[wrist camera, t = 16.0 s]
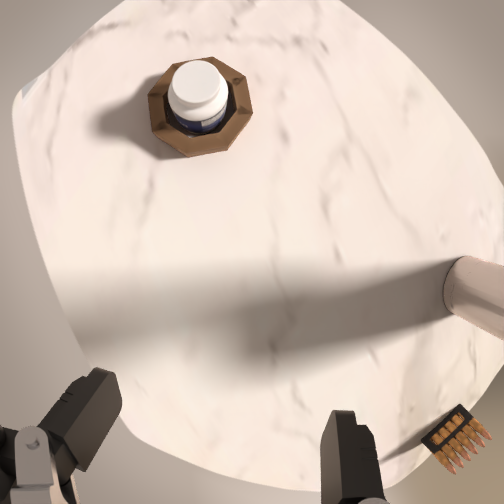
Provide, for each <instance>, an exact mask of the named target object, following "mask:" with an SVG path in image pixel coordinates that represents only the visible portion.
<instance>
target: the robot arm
mask: <svg viewBox="0 0 504 504" xmlns="http://www.w3.org/2000/svg"><path fill="white" fill-rule="evenodd" d="M443 296H444V303H445V306H446V308H447V309H448V310H449V311H450V312H452V313H453V314H455V315H457V316H459V317H461V318H463V319H465V320H466V321H468V322H470V323H472V324H474V325H476V326H477V327H479V328H481V329H483V330H485V331H487V332H488V333H490V334H492V335H494V336H496V337H498V338H499V339H501V340H503V341H504V266H502V265H499V264H495V263H492V262H489V261H485V260H482V259H478V258H475V257H471V256H465V257H462V258H460V259H459V260H457V261H456V262H455V263H454V265H453V266H452V267H451V269H450V271H449V273H448V275H447V278H446V280H445V284H444V291H443ZM121 407H122V397H121V394H120V390H119V386H118V382H117V378H116V375H115V373H113V372H110V371H107V370H104V369H101V368H98V367H96V368H94V369H93V370H92V371H91V372H90V374H89V375H88V376H87V377H84V376H82V377H80V378H79V379H77V380H75V381H74V382H72V383H71V385H70V386H69V387H68V388H67V389H66V391H65V393H63V394H62V396H61V397H60V400H58V401H57V402H56V403H55V404H54V406H53V407H52V408H51V410H50V411H49V412H48V414H47V415H46V416H45V417H44V419H43V420H42V421H41V423H40V424H39V425H38V426H37V427H35V426H28V427H25V428H23V429H21V430H20V431H17V430H12V429H8V428H4V427H2V426H1V425H0V504H80V501H79V497H78V493H77V489H76V485H75V481H74V477H73V474H72V473H73V471H74V470H75V468H77V469H79V470H81V471H83V472H86V470H87V468H88V467H89V465H90V463H91V461H92V460H93V458H94V456H95V454H96V453H97V451H98V449H99V447H100V446H101V444H102V442H103V440H104V439H105V437H106V435H107V434H108V432H109V430H110V428H111V427H112V425H113V423H114V422H115V420H116V418H117V417H118V415H119V413H120V411H121ZM375 449H376V446H375V441H374V436H373V434H372V433H371V431H370V430H369V428H368V427H367V426H366V425H357V423H356V417H355V413H354V411H343V410H333V411H332V412H331V415H330V417H329V420H328V422H327V425H326V427H325V430H324V432H323V435H322V438H321V445H320V457H321V504H390V503H388V502H387V500H386V499H385V496H384V493H383V486H382V480H381V474H380V468H379V462H378V460H377V451H376V450H375Z"/></svg>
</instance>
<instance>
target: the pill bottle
mask: <svg viewBox="0 0 504 504" xmlns="http://www.w3.org/2000/svg"><path fill="white" fill-rule="evenodd" d="M227 98H228V87H227V83H226V81H225V79H224V78H223V76H222V75H221V74H220V73H219V71H218V70H217V68H216V67H215V66H214V65H212V64H211V63H209V62H206V61H201V60H195V61H190V62H187V63H185V64H183V65H182V66H180V67H179V68H178V69H177V70H176V72H175V73H174V75H173V78H172V82H171V84H170V86H169V90H168V100H169V104H170V106H171V108H172V111H173V113H174V115H175V117H176V119H177V121H178V123H179V124H180V125H181V127H182V128H184V129H185V130H186V131H188V132H190V133H194V134H205V133H208V132H211V131H213V130H214V129H216V128H217V127H218V126H219V125H220V124H221V122H222V121H223V118H224V116H225V111H226V105H227Z"/></svg>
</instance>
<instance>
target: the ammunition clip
mask: <svg viewBox="0 0 504 504" xmlns="http://www.w3.org/2000/svg"><path fill="white" fill-rule="evenodd" d="M459 416H460V417H461V418H462V419H463V420H462V419H461V418H460V417H459ZM452 422H453V423H454V424H455V425H454V424H453V423H452ZM470 426H471V427H472V428H473V429H474V430H475V431H477V432H478V433H480V434H481V435H482V436H483V437H485V438H487V439H489V440H492V438H491V436H490V434H489V433H488V432H487V431H486V430H485V429H484V427H483V426H482V425H481V424H480V423H479V422H478V421H477V420H476V419H475V418H474V417H473V416H472V415H471V414H470V413H469V412H468V411H467V410H466V409H465V408H464V407H463V406H462V405H461V404H459V405H458V406H457V407H456V408H455V409H454V410H453V411H452V412H451V413H450V414H449V415H448V416H447V417H446V418H445V419H444V420H443V421H442V422H441V423H439V424H438V425H437V426H436V427H435V428H434V429H433V430H432V431H431V432H430V433H428V434H427V435H426V436H425V437H424V438H423V439H422V440H421V441H422V443H423V444H424V445H425V446H426V447H427V448H428V449H429V450H430V451H431V452H432V454H433V455H434V456H435V457H436V458H437V459H438V460H439V462H440V463H441V464H442V465H444V466H445V467H446V468H447V469H448V470H449V471H450V472H451V473H453V474H456V470H455V468H454V467H453V465H452V464H451V462H450V461H449V459H448V458H447V457H449V458H450V459H451V460H452V461H453V462H454V463H455V464H457V465H458V466H459V467H462V468H463V467H464V466H463V463H462V461H461V460H460V458H459V457H458V456H457V455H456V453H455V451H456V452H458V453H459V454H460V455H461V456H462V457H463V458H464V459H466V460H468V461H471V459H470V456H469V454H468V453H467V452H466V451H465V449H464V448H463V447H462V445H464V446H465V447H466V448H468V449H469V450H470V451H471V452H473V453H474V454H478V452H477V449H476V448H475V446H474V445H473V444H472V443H471V442H470V440H469V439H468V437H469V438H470V439H472V440H473V441H474V442H476V443H477V444H478V445H480V446H482V447H485V444H484V442H483V441H482V439H481V438H480V437H479V436H478V435H477V434H476V432H475V431H474V430H473V429H472V428H471V427H470ZM463 432H464V433H465V434H466V435H467V436H468V437H466V435H464V434H463ZM440 435H441V436H442V437H443V438H442V437H441V436H440ZM456 439H457V440H458V441H459V442H460V443H461V444H462V445H461V444H460V443H459V442H458V441H457V440H456ZM434 442H435V443H436V444H437V445H436V444H435V443H434ZM449 445H450V446H451V447H452V448H453V449H454V450H455V451H454V450H453V449H452V448H451V447H450V446H449ZM442 451H443V452H444V453H445V454H446V455H447V456H446V455H445V454H444V453H443V452H442Z"/></svg>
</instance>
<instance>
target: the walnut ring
mask: <svg viewBox="0 0 504 504" xmlns="http://www.w3.org/2000/svg"><path fill="white" fill-rule="evenodd" d="M196 60H201V61H206V62H209V63H211V64H212V65H214V66H215V67H216V68H217V70H218V71H219V73H220V74H221V75H222V76H223V78H224V79H225V81H226V83H227V87H228V92H230V93H231V98H232V103H233V108H234V114H233V116H232V117H231V118H230V120H229V121H228V122H227V123H226V125H225V126H224V127H223V129H222V130H221V131H220V132H219V133H214V134H208V135H203V136H197V137H192V138H189V137H188V136H186V135H184V134H183V133H181V132H180V131H178V130H177V129H175V128H174V127H172V126H170V125H169V119H168V112H167V103H168V102H169V100H168V90H169V86H170V84H171V82H172V78H173V75H174V73H175V72H176V70H177V69H178V68H179V67H180V66H182V65H183V64H185V63H187V62H190V61H195V60H190V61H185V62H180V63H175V64H172V65H171V66H170V68H169V69H168V70H167V71H166V72H165V73H164V75H163V76H162V77H161V78H160V80H159V81H158V82H157V83H156V84H155V86H154V87H153V88H152V89H151V91H150V92H149V93H148V103H149V111H150V118H151V126H152V132H153V133H154V134H155V135H156V136H157V137H158V138H159V139H161V140H162V141H164V142H165V143H167V144H168V145H170V146H172V147H173V148H175V149H176V150H178V151H179V152H181V153H182V154H184V155H185V156H187V157H194V156H199V155H204V154H209V153H215V152H220V151H226V150H228V148H229V147H230V146H231V144H232V143H233V142H234V140H235V139H236V138H237V136H238V135H239V134H240V132H241V131H242V130H243V128H244V127H245V126H246V124H247V123H248V122H249V120H250V118H251V116H252V114H253V111H252V106H251V100H250V95H249V90H248V85H247V80H246V77H245V76H244V75H242V74H241V73H239V72H238V71H236V70H234V69H233V68H231V67H229V66H228V65H226V64H224V63H223V62H221V61H219V60H218V59H216V58H214V57H208V58H202V59H196Z"/></svg>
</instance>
